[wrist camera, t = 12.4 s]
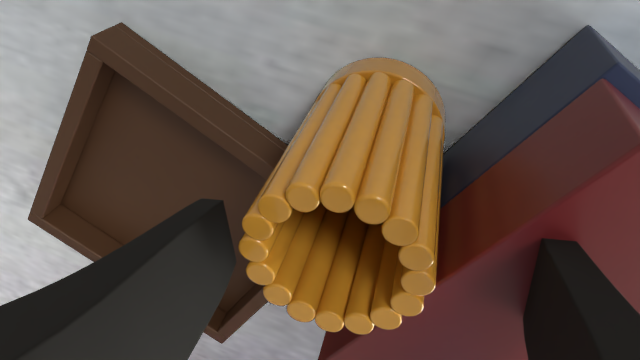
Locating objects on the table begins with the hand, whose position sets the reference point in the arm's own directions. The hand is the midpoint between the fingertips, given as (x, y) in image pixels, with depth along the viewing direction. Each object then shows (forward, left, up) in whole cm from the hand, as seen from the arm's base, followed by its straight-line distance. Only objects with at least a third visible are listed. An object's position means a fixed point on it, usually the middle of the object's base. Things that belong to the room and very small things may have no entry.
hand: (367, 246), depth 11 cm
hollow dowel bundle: (+1, -1, -2) cm, 2 cm away
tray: (-8, +4, -6) cm, 11 cm away
